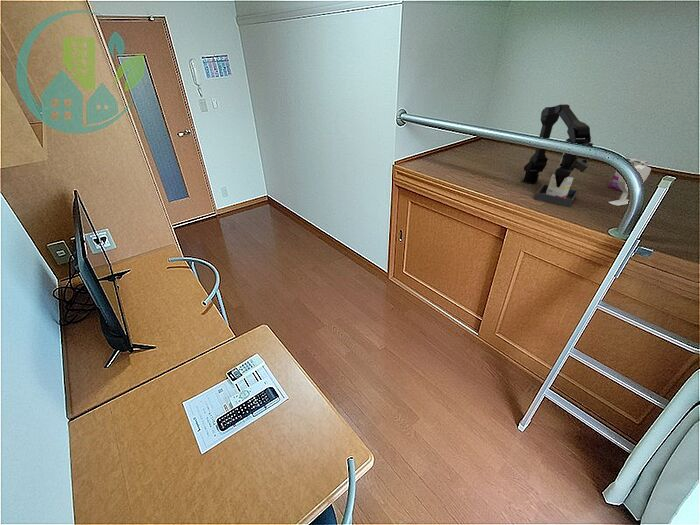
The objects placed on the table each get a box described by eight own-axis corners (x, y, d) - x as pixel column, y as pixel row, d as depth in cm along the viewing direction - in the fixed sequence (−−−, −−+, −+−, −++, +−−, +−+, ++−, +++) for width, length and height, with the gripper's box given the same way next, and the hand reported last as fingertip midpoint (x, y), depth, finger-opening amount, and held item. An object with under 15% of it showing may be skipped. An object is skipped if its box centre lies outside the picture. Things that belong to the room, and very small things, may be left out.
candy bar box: (635, 192, 172) (650, 161, 163) (628, 193, 171) (644, 162, 161) (614, 185, 181) (628, 156, 172) (608, 187, 179) (621, 157, 170)
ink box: (565, 200, 164) (574, 177, 158) (559, 201, 163) (568, 179, 156) (550, 194, 171) (558, 172, 164) (544, 196, 169) (552, 174, 163)
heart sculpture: (626, 198, 166) (644, 163, 156) (636, 201, 162) (655, 166, 152) (605, 202, 161) (621, 166, 151) (615, 206, 157) (632, 169, 147)
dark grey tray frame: (534, 199, 166) (536, 192, 164) (541, 190, 176) (544, 184, 174) (569, 206, 157) (572, 200, 155) (575, 196, 168) (577, 190, 166)
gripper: (588, 160, 144) (574, 193, 153) (593, 151, 156) (581, 182, 165) (560, 156, 150) (548, 188, 159) (567, 148, 162) (556, 178, 171)
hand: (559, 184), depth 163 cm, fingers open, 9 cm apart
